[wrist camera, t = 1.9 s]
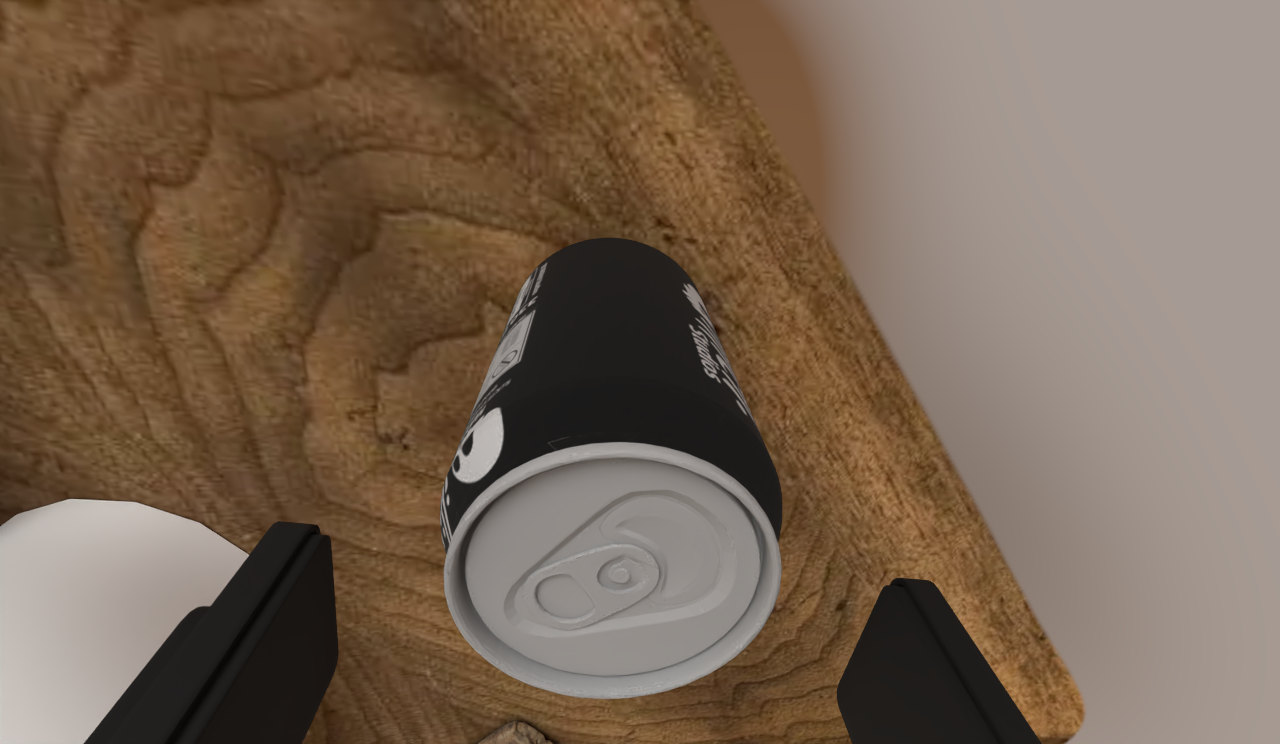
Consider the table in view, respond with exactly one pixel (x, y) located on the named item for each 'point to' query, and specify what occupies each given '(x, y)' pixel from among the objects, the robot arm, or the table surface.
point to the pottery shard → (515, 735)
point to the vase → (93, 607)
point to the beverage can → (610, 486)
